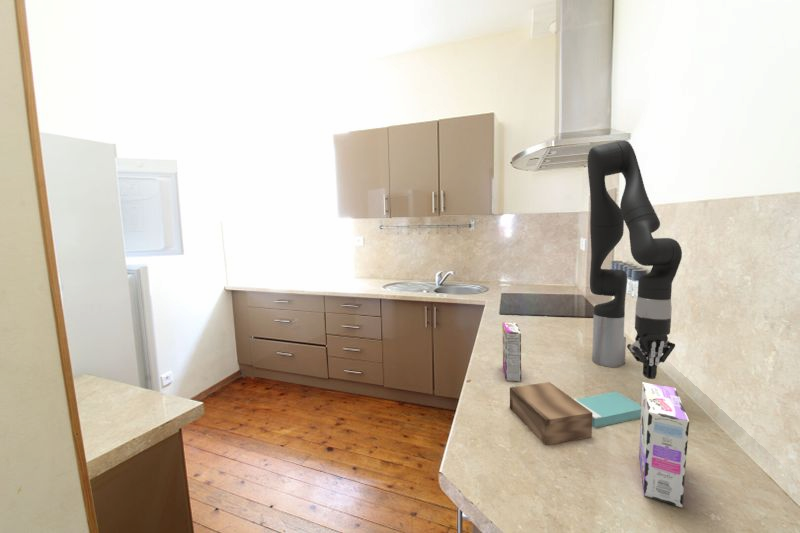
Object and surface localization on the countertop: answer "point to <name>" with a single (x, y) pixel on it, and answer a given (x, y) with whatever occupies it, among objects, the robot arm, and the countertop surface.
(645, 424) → the candy box
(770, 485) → the countertop surface
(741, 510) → the countertop surface
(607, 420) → the thin teal board
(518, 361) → the candy bar box
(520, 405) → the wood block
